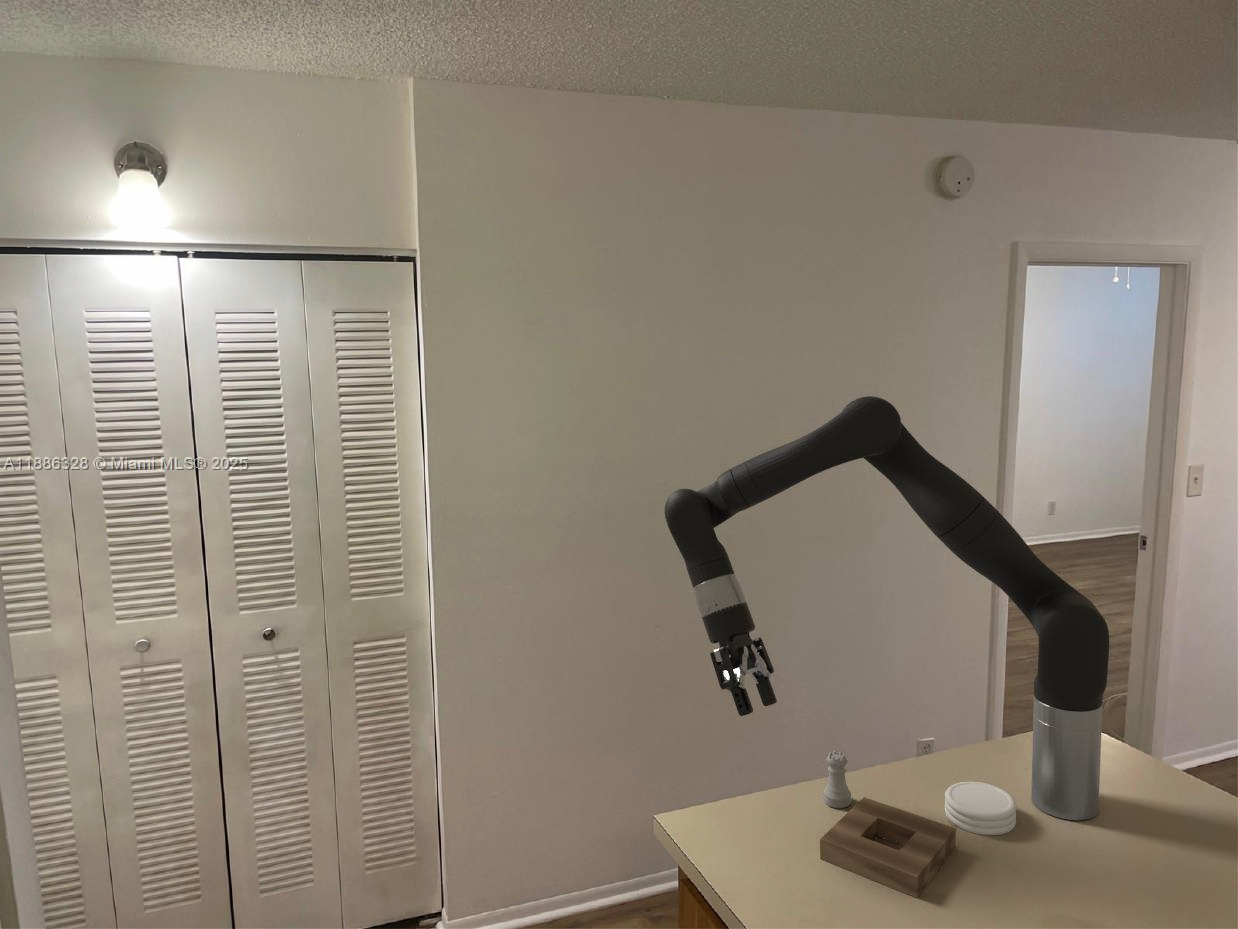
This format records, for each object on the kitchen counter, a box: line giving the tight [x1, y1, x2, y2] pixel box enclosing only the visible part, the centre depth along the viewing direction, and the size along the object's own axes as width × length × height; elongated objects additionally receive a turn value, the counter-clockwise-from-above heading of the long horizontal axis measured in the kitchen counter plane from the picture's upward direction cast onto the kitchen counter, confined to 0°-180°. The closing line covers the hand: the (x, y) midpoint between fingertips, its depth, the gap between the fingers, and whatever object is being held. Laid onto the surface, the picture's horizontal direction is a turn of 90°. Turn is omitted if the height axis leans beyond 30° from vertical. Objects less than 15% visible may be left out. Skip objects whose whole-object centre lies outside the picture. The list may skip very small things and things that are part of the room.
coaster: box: [944, 781, 1017, 836], centre depth 127 cm, size 10×10×4 cm
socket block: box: [819, 796, 957, 899], centre depth 119 cm, size 14×14×3 cm
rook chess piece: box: [822, 750, 853, 809], centre depth 133 cm, size 4×4×8 cm
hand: (759, 709), depth 129 cm, fingers open, 8 cm apart
